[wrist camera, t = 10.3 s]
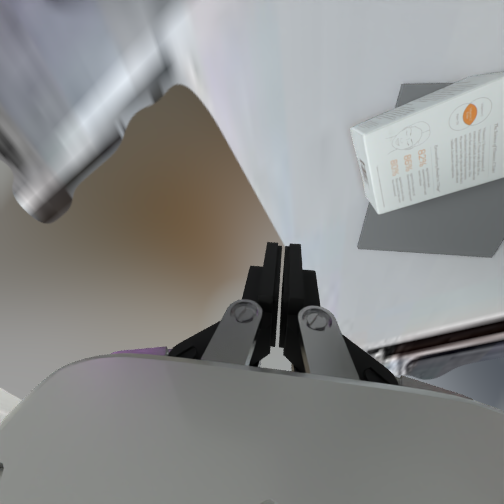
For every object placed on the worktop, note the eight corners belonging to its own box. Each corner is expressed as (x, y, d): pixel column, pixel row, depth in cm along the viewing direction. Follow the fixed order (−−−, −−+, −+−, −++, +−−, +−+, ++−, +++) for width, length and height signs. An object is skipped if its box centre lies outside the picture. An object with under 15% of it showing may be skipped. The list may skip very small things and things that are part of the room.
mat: (401, 84, 22) (404, 84, 22) (599, 81, 20) (607, 80, 20) (357, 246, 32) (358, 248, 32) (488, 254, 30) (491, 257, 30)
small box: (363, 196, 28) (472, 162, 24) (377, 216, 23) (513, 177, 20) (349, 126, 24) (473, 73, 21) (362, 132, 20) (525, 66, 16)
